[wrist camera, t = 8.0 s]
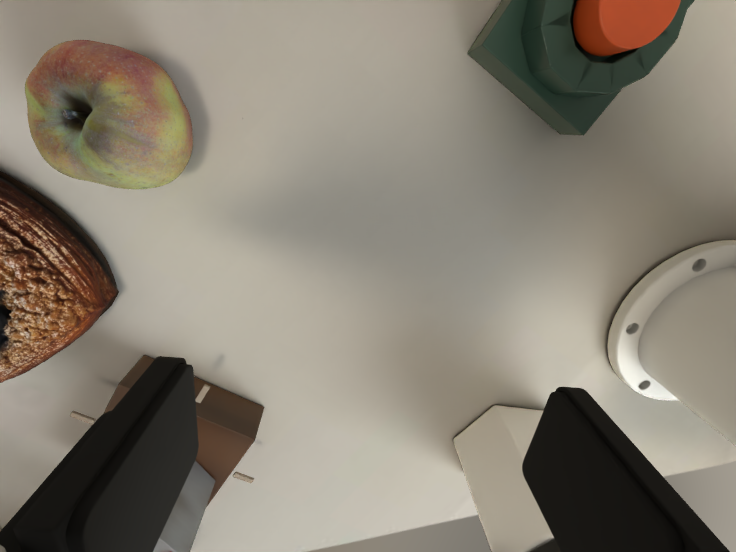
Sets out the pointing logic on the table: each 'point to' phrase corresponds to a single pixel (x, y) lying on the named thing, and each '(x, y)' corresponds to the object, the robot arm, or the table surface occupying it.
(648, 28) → the button
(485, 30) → the button box
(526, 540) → the jar
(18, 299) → the pastry
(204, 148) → the table surface
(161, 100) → the apple
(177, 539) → the spout
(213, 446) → the base
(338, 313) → the table surface
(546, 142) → the table surface
